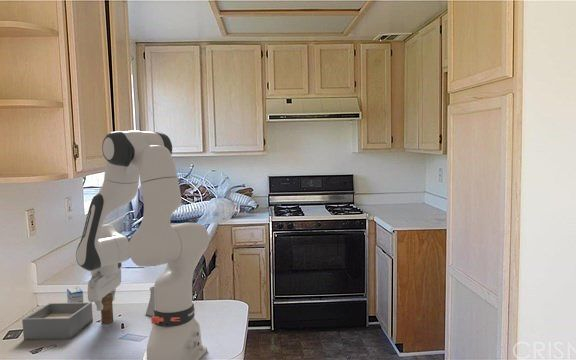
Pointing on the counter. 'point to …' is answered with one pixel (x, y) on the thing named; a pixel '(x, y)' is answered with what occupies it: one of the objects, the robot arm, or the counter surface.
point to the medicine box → (74, 295)
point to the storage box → (57, 321)
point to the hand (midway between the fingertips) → (106, 305)
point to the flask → (151, 303)
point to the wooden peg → (107, 309)
